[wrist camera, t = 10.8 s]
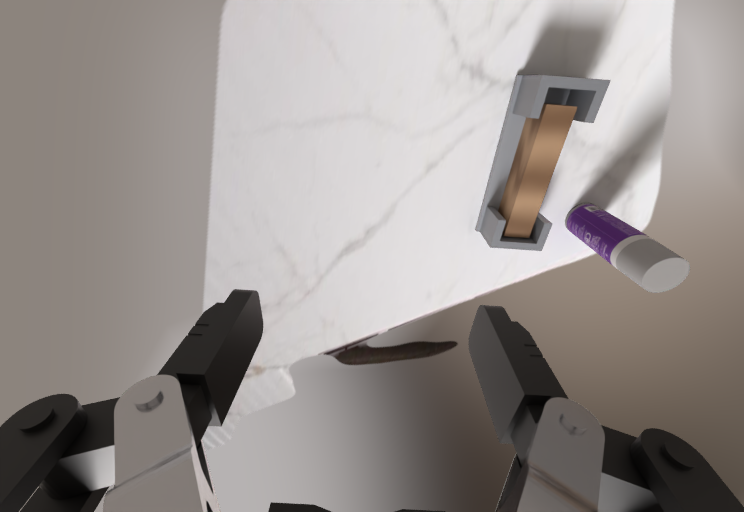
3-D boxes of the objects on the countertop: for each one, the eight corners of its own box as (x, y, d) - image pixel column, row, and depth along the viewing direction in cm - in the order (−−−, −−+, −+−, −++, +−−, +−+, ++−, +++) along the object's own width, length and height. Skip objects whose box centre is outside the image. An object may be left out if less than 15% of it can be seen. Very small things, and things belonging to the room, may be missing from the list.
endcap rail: (516, 75, 35) (537, 74, 31) (583, 80, 35) (615, 80, 31) (475, 229, 45) (486, 247, 41) (527, 233, 46) (545, 251, 41)
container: (558, 218, 44) (633, 275, 31) (589, 196, 42) (682, 247, 30) (574, 238, 46) (651, 300, 33) (604, 218, 44) (698, 275, 31)
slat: (530, 101, 36) (546, 104, 33) (558, 104, 36) (577, 106, 33) (494, 223, 44) (504, 236, 41) (517, 225, 44) (528, 237, 41)
